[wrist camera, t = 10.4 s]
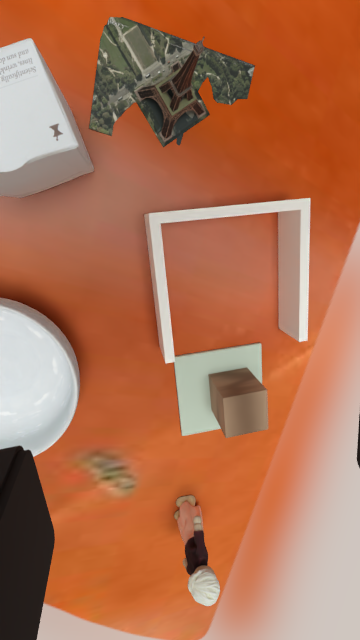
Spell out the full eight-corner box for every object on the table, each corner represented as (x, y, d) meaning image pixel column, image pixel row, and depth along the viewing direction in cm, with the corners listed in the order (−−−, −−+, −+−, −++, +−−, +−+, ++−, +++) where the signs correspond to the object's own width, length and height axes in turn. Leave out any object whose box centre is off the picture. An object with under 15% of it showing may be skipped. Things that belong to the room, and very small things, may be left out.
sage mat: (259, 342, 43) (261, 343, 42) (261, 418, 46) (262, 420, 46) (173, 356, 41) (173, 357, 41) (181, 434, 44) (182, 436, 44)
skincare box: (70, 109, 32) (37, 24, 18) (97, 175, 34) (85, 144, 20) (-16, 139, 32) (-119, 75, 18) (16, 204, 34) (-54, 193, 20)
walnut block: (246, 367, 43) (267, 389, 37) (248, 402, 44) (268, 429, 39) (208, 374, 42) (223, 398, 36) (211, 409, 44) (225, 438, 38)
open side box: (286, 200, 38) (310, 197, 34) (286, 327, 43) (307, 340, 38) (143, 214, 36) (148, 213, 31) (159, 346, 40) (165, 363, 36)
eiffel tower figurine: (255, 66, 34) (337, -22, 22) (230, 172, 37) (292, 148, 24) (104, 13, 31) (98, -129, 18) (88, 133, 33) (73, 82, 21)
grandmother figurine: (199, 524, 49) (226, 622, 37) (172, 529, 48) (192, 630, 37) (198, 480, 47) (227, 569, 35) (170, 484, 46) (190, 577, 34)
